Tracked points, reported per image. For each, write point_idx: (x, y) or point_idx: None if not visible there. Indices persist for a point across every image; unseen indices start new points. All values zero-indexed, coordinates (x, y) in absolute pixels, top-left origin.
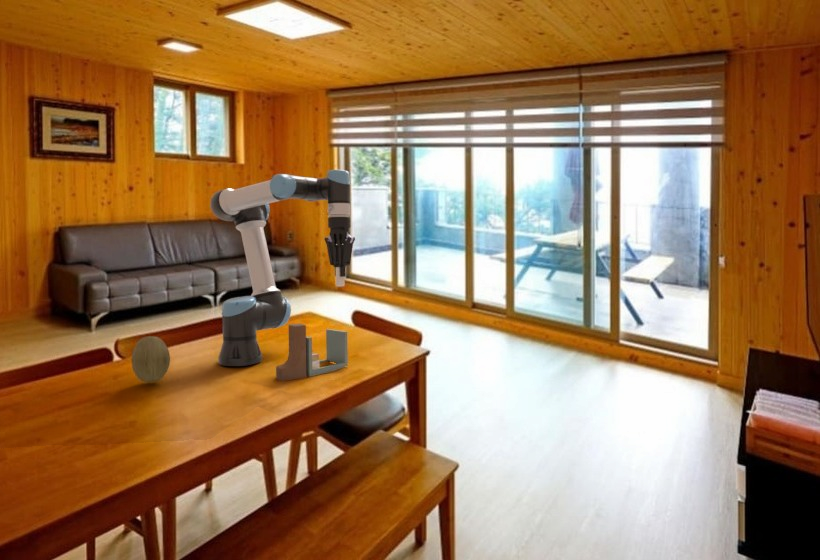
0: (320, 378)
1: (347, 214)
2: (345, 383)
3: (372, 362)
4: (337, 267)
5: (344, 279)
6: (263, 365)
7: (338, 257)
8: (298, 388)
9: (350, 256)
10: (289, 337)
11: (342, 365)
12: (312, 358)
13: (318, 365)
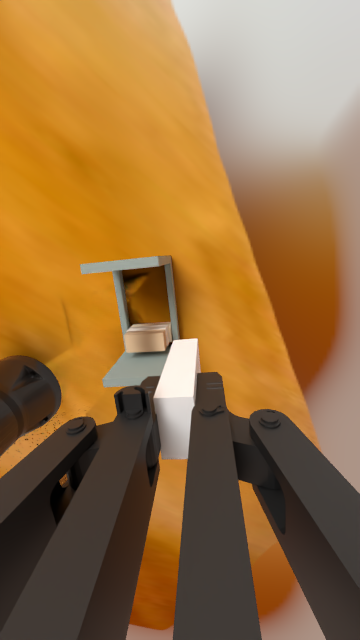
0: (205, 344)
1: None
2: (268, 336)
3: (165, 177)
4: (186, 458)
5: (196, 354)
6: (46, 355)
7: (136, 517)
8: (234, 403)
9: (357, 504)
10: None
11: (171, 270)
12: (165, 346)
13: (167, 327)
